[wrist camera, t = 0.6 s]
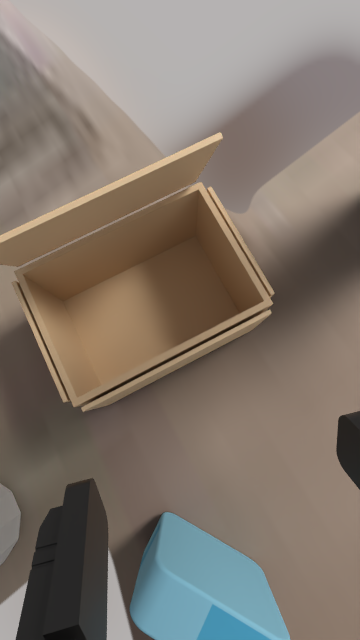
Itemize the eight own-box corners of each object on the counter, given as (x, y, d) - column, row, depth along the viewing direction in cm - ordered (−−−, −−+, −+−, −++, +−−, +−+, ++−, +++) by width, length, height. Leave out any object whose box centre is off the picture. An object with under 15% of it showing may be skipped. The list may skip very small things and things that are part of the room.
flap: (193, 176, 32) (219, 130, 22) (195, 181, 32) (222, 138, 22) (15, 261, 31) (-41, 252, 21) (18, 266, 31) (-36, 259, 21)
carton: (202, 229, 44) (207, 178, 33) (258, 327, 41) (284, 306, 30) (53, 303, 42) (7, 274, 31) (101, 409, 39) (69, 418, 29)
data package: (144, 546, 37) (125, 622, 25) (164, 507, 37) (153, 563, 26) (242, 605, 35) (271, 716, 24) (261, 564, 36) (297, 650, 24)
